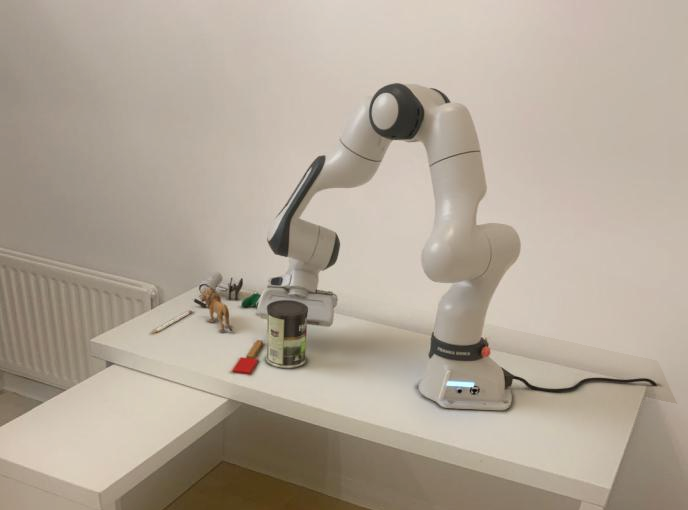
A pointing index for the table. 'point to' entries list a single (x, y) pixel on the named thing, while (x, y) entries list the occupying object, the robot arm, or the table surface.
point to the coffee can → (286, 333)
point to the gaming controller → (251, 300)
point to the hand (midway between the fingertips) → (291, 337)
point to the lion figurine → (215, 307)
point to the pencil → (172, 321)
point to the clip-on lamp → (215, 282)
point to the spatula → (248, 360)
